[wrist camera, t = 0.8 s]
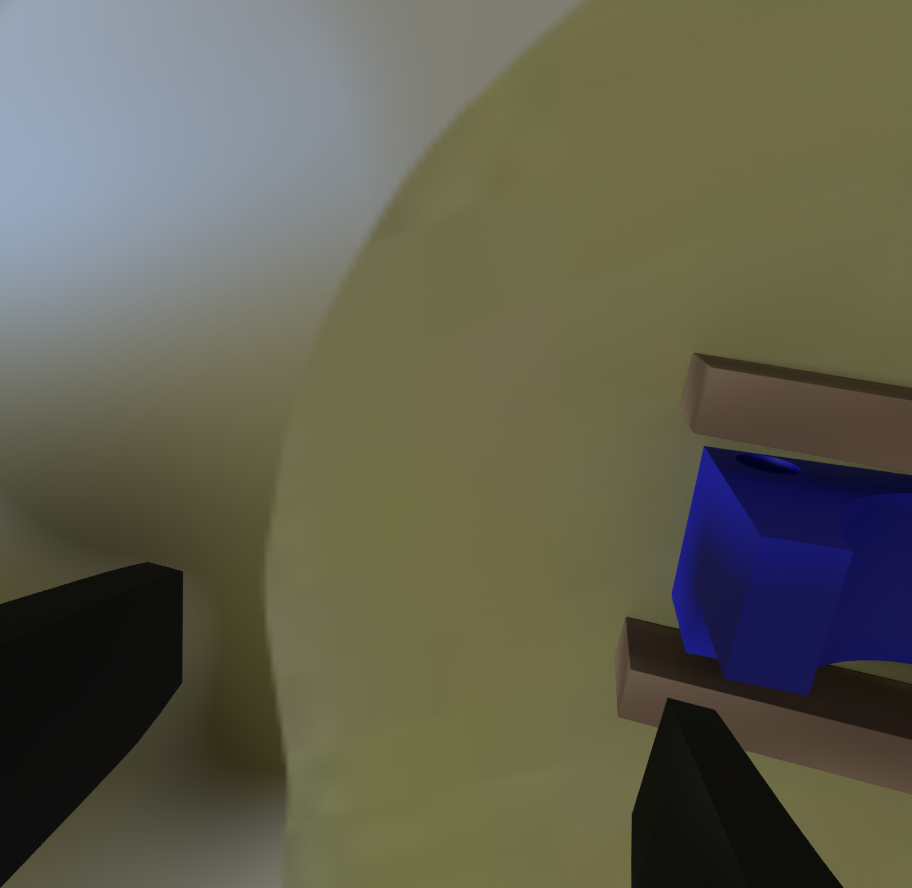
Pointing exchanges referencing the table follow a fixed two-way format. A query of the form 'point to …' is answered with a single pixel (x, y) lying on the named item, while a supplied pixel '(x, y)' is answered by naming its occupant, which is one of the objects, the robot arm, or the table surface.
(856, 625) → the cable clip
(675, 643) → the cable track
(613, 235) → the table surface
